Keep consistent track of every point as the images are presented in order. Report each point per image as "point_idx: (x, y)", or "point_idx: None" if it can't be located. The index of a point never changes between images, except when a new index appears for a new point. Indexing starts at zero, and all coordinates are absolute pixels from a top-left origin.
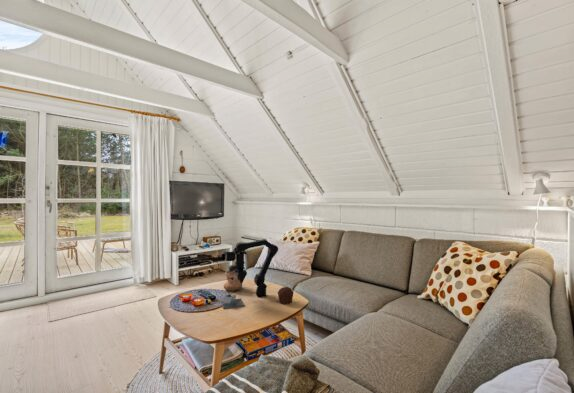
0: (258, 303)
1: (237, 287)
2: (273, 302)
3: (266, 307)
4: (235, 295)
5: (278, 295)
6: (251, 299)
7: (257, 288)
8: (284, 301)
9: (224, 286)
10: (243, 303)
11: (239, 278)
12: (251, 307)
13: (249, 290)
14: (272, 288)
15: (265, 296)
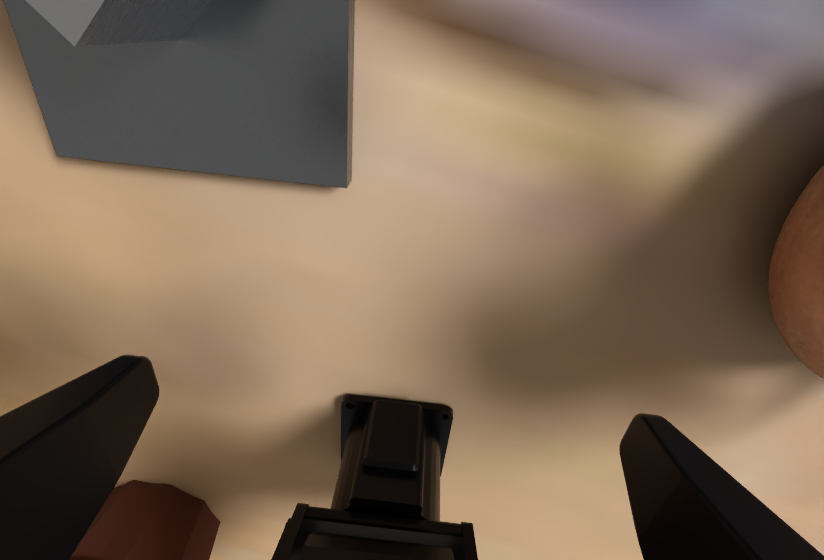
0: (160, 336)
1: (788, 278)
2: (167, 450)
3: (33, 363)
4: (68, 35)
5: (121, 549)
6: (315, 312)
7: (383, 491)
8: None
9: None
10: (109, 158)
11: (641, 498)
12: (29, 225)
13: (652, 391)
14: (540, 556)
15: (342, 453)
